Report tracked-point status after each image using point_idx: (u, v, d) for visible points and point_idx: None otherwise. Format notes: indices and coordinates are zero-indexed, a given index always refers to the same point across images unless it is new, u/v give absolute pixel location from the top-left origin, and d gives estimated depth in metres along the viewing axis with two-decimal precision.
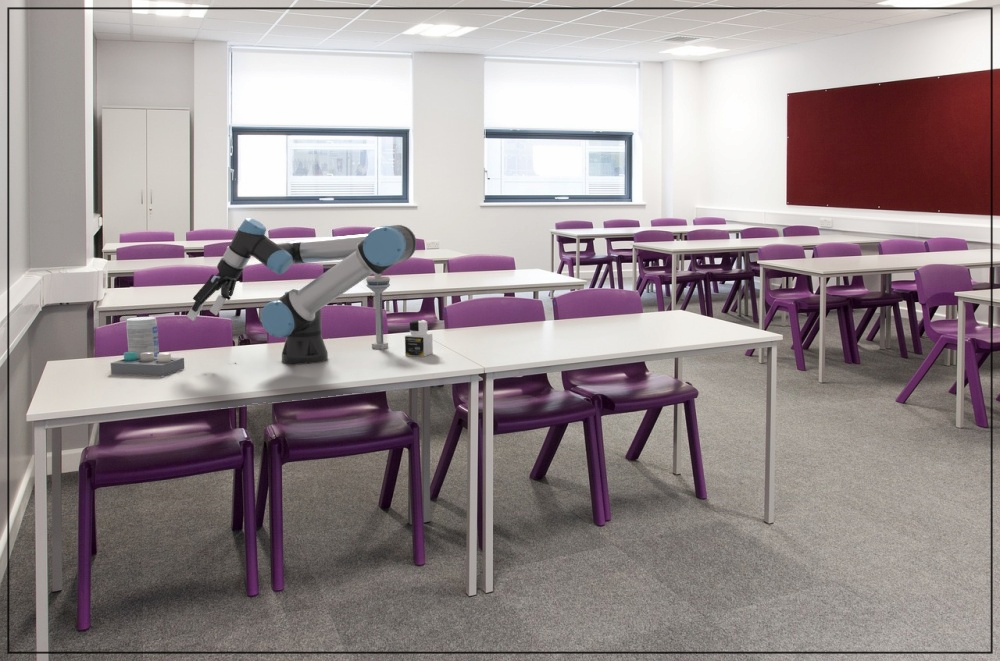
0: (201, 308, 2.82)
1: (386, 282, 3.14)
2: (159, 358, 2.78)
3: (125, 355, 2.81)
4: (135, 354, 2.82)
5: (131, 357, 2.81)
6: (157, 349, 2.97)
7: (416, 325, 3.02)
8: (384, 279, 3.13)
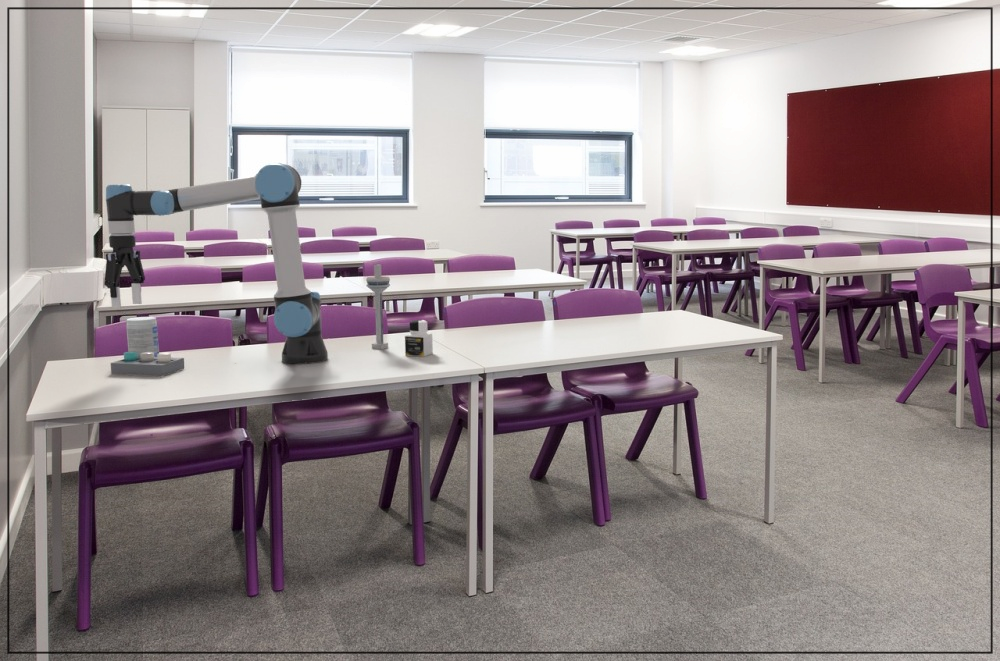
0: (119, 292, 2.74)
1: (386, 282, 3.14)
2: (159, 358, 2.78)
3: (125, 355, 2.81)
4: (135, 354, 2.82)
5: (131, 357, 2.81)
6: (157, 349, 2.97)
7: (416, 325, 3.02)
8: (384, 279, 3.13)
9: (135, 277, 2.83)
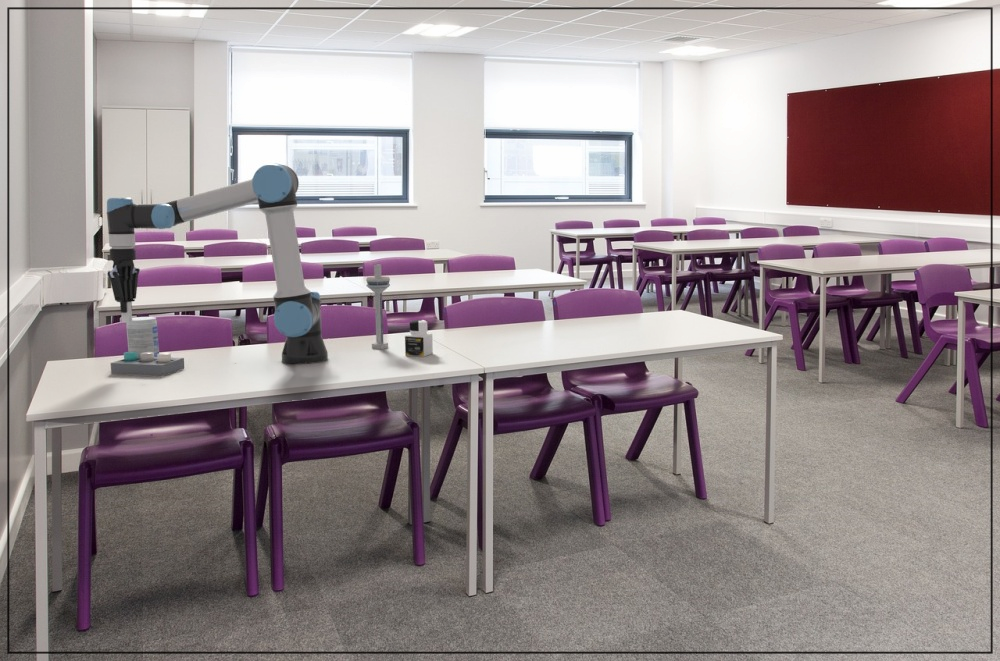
0: (129, 307, 2.80)
1: (386, 282, 3.14)
2: (159, 358, 2.78)
3: (125, 355, 2.81)
4: (135, 354, 2.82)
5: (131, 357, 2.81)
6: (157, 349, 2.97)
7: (416, 325, 3.02)
8: (384, 279, 3.13)
9: (127, 293, 2.80)
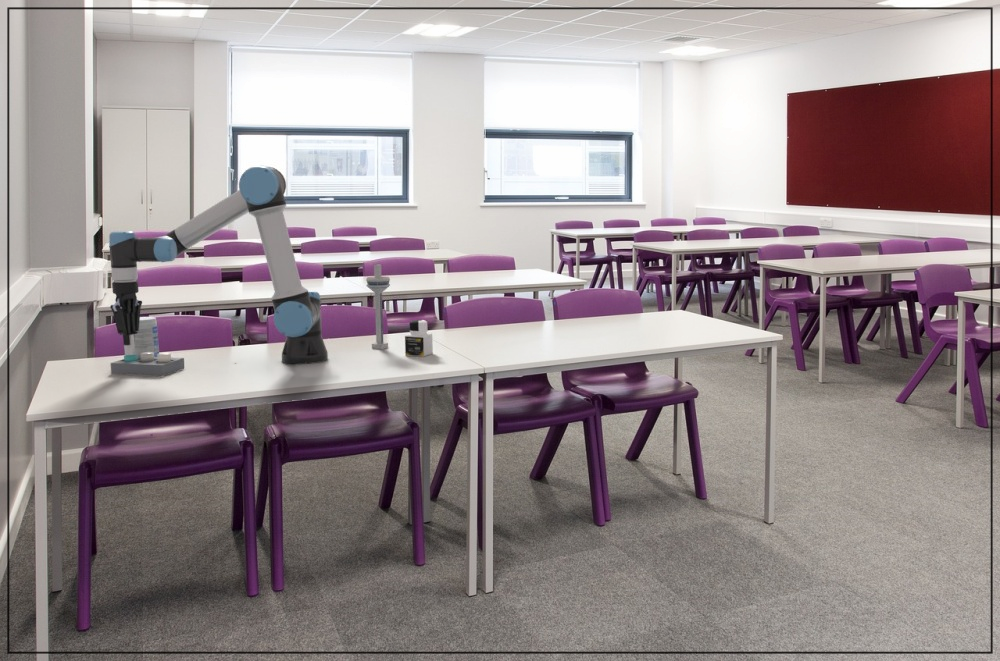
0: (132, 339, 2.81)
1: (386, 282, 3.14)
2: (159, 358, 2.78)
3: (125, 358, 2.81)
4: (135, 357, 2.82)
5: (131, 360, 2.81)
6: (157, 349, 2.97)
7: (416, 325, 3.02)
8: (384, 279, 3.13)
9: (130, 326, 2.82)
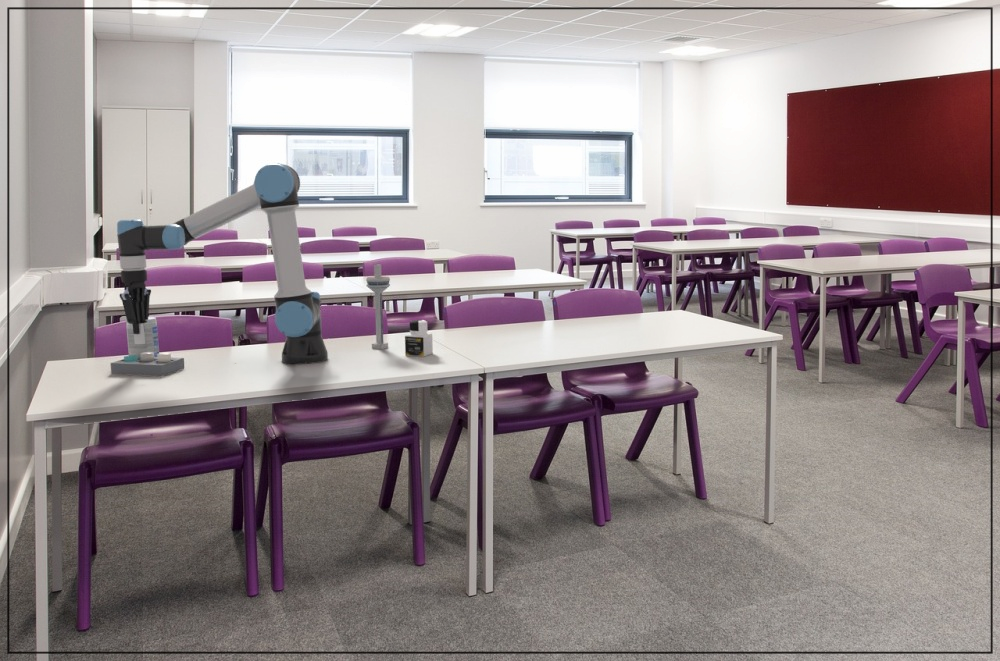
0: (142, 328, 2.80)
1: (386, 282, 3.14)
2: (159, 358, 2.78)
3: (125, 359, 2.81)
4: (135, 358, 2.82)
5: None
6: (157, 349, 2.97)
7: (416, 325, 3.02)
8: (384, 279, 3.13)
9: (139, 315, 2.81)
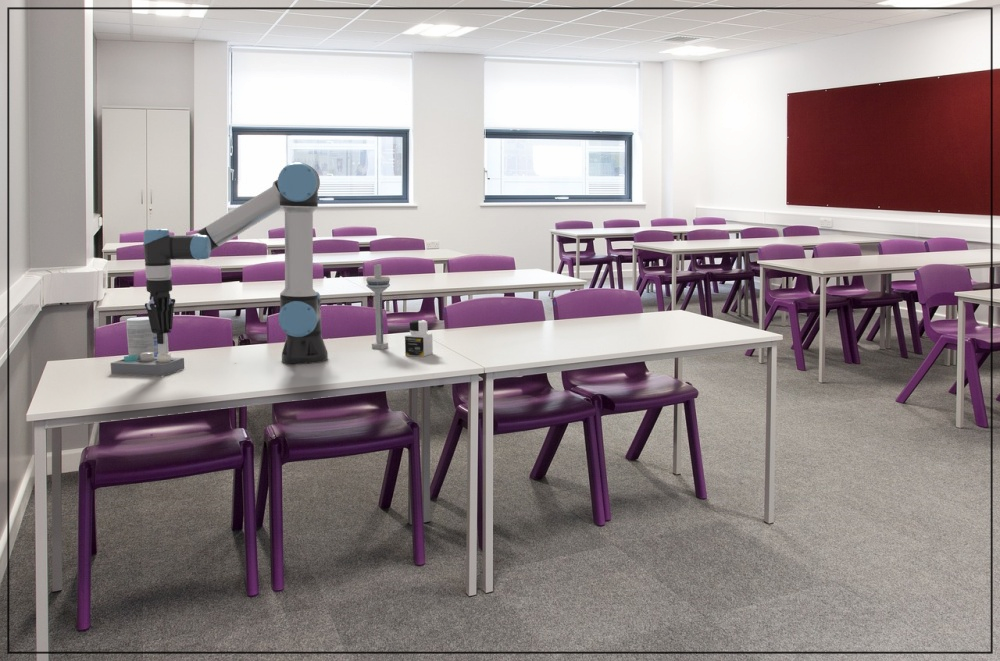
0: (166, 338, 2.79)
1: (386, 282, 3.14)
2: (159, 358, 2.78)
3: (125, 359, 2.81)
4: (135, 358, 2.82)
5: None
6: (157, 349, 2.97)
7: (416, 325, 3.02)
8: (384, 279, 3.13)
9: (164, 324, 2.79)
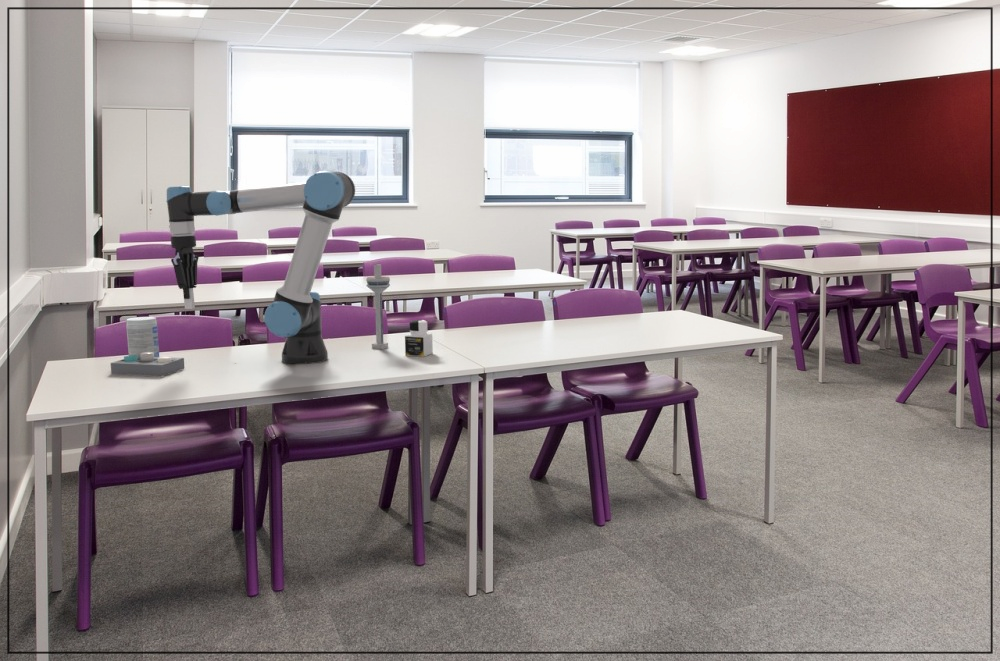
0: (192, 293, 2.86)
1: (386, 282, 3.14)
2: (159, 362, 2.79)
3: (125, 359, 2.81)
4: (135, 358, 2.82)
5: None
6: (157, 349, 2.97)
7: (416, 325, 3.02)
8: (384, 279, 3.13)
9: (189, 280, 2.86)
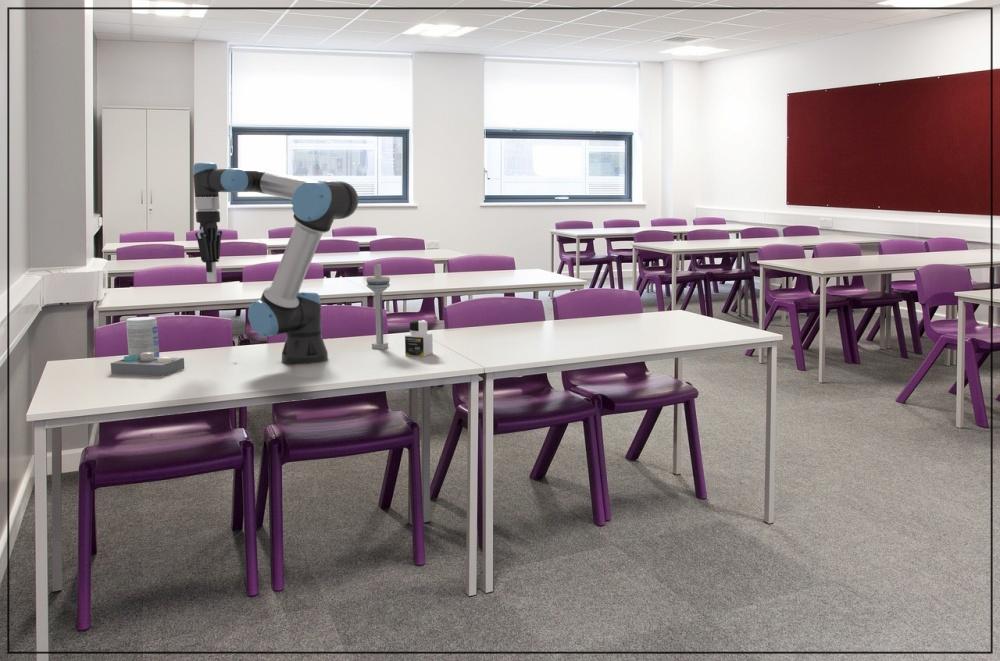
0: (214, 267, 2.96)
1: (386, 282, 3.14)
2: (159, 362, 2.79)
3: (125, 359, 2.81)
4: (135, 358, 2.82)
5: None
6: (157, 349, 2.97)
7: (416, 325, 3.02)
8: (384, 279, 3.13)
9: (212, 254, 2.96)
